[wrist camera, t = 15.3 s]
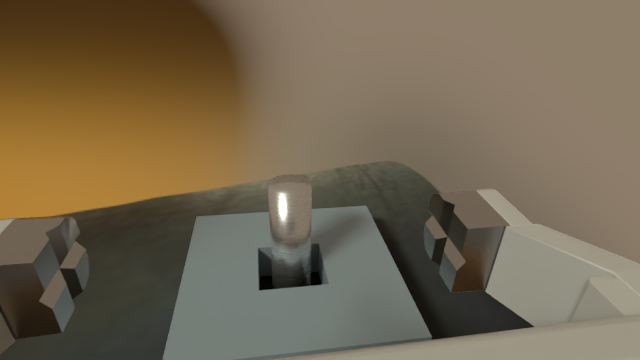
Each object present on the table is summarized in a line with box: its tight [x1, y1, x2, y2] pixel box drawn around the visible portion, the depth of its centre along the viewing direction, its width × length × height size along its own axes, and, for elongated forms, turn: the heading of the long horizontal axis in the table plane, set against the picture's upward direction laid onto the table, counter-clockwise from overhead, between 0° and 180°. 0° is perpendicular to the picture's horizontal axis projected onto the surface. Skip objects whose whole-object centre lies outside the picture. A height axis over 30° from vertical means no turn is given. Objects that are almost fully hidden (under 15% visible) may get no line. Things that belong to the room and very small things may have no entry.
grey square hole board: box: [163, 206, 432, 360], centre depth 31 cm, size 16×16×3 cm
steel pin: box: [268, 175, 312, 289], centre depth 29 cm, size 3×3×10 cm
